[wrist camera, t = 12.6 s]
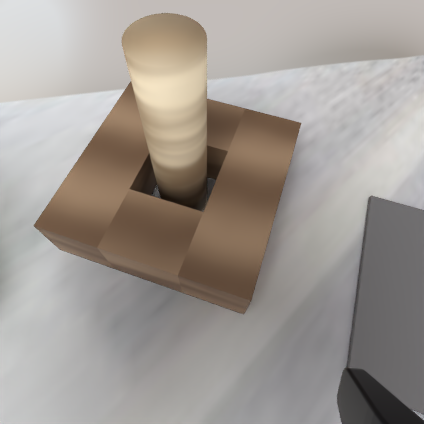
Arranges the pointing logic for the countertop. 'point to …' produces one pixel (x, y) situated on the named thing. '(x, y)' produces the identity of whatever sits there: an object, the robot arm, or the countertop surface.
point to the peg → (172, 101)
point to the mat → (391, 301)
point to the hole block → (174, 213)
